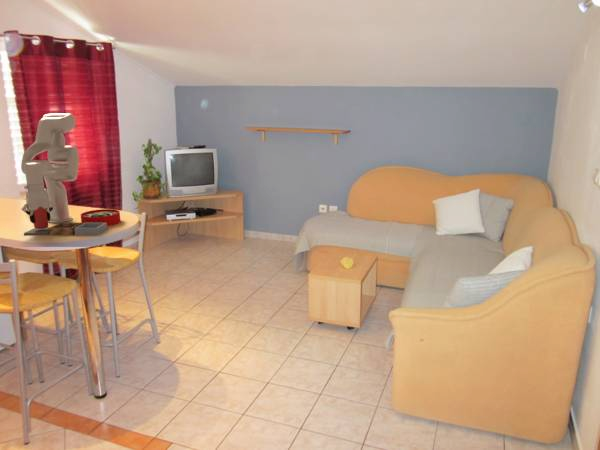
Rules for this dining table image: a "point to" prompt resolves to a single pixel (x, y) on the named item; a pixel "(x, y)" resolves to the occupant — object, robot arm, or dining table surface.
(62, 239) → the dining table surface
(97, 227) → the slate frame
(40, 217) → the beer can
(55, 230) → the walnut frame
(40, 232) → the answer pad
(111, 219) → the red round tin
